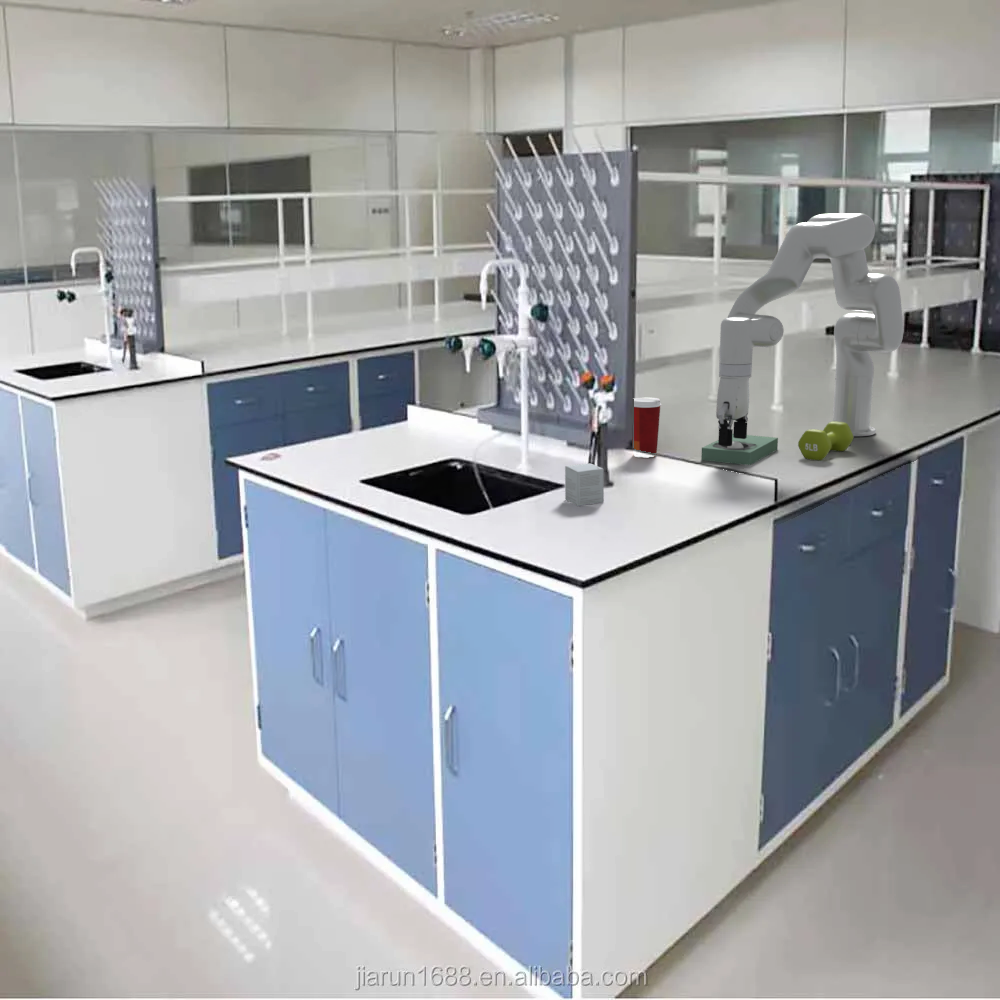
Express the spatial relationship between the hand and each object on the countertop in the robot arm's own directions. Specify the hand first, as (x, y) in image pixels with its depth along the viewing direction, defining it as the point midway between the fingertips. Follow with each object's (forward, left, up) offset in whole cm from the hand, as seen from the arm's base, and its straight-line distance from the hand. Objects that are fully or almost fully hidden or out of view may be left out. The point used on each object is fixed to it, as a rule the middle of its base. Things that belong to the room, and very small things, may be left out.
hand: (732, 441), depth 254 cm
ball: (-2, 0, -2) cm, 3 cm away
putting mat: (-6, 0, -4) cm, 7 cm away
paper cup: (+6, -20, -4) cm, 21 cm away
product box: (+52, -12, -4) cm, 54 cm away
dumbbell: (-16, +18, -5) cm, 24 cm away
